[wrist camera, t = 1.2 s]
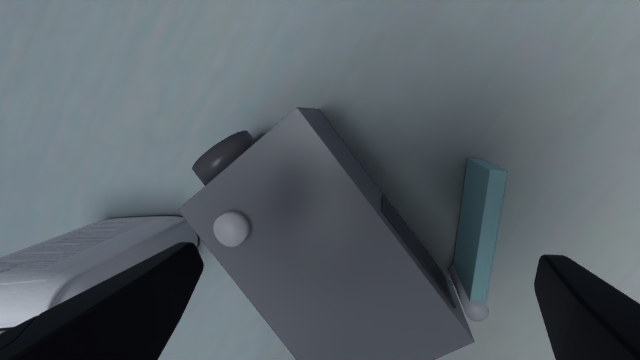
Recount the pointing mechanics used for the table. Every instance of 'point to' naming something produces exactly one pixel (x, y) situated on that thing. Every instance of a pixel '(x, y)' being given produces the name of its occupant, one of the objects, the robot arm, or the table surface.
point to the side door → (477, 235)
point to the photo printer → (81, 262)
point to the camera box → (322, 247)
